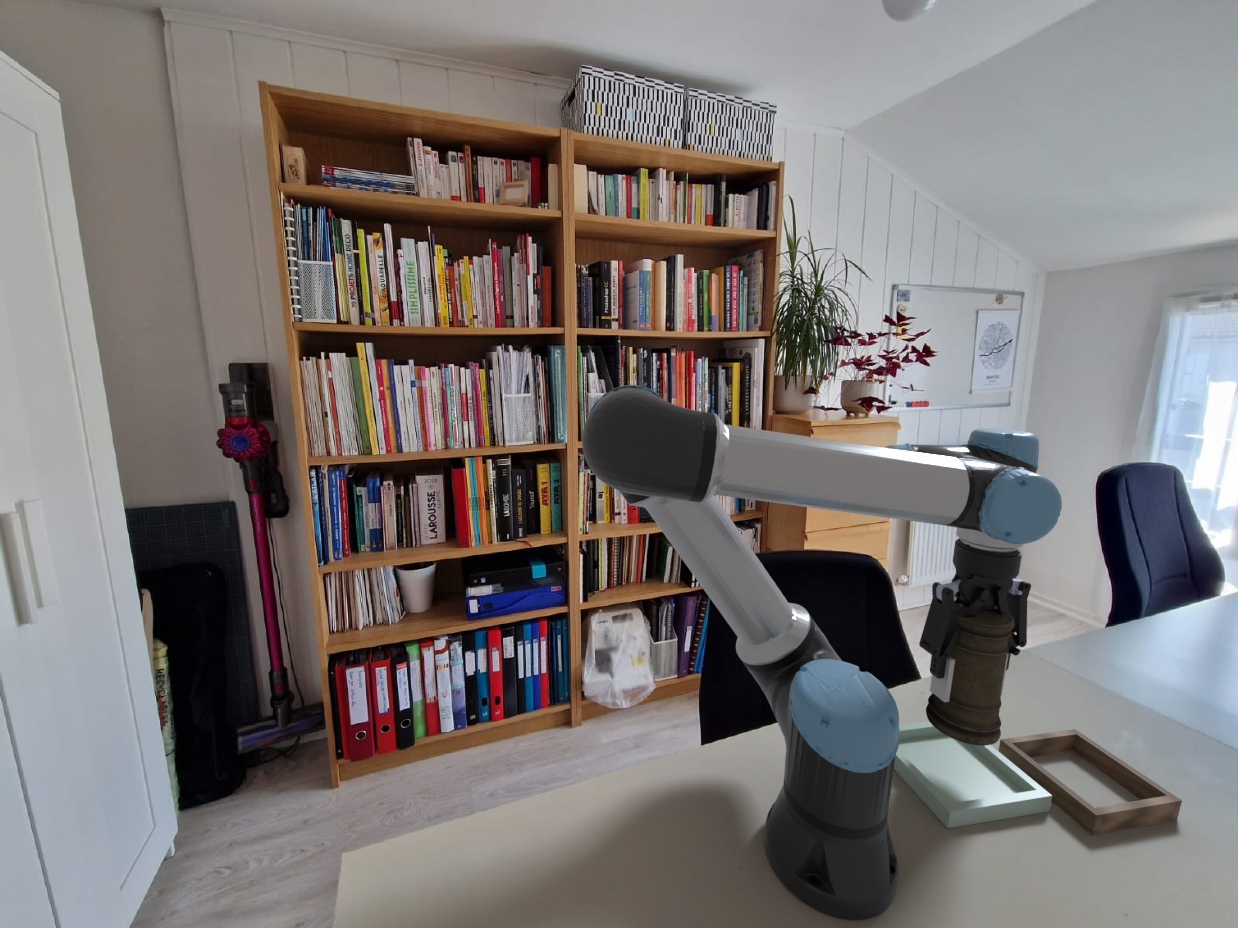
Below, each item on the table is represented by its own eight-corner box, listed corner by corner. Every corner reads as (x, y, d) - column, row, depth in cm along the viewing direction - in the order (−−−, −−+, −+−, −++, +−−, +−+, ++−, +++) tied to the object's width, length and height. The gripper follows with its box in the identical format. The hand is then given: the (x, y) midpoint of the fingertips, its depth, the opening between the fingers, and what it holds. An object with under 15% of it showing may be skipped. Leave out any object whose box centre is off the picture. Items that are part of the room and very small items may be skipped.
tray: (947, 828, 68) (950, 812, 68) (869, 742, 84) (871, 728, 83) (1049, 811, 71) (1052, 795, 71) (955, 731, 87) (957, 717, 86)
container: (1014, 747, 72) (1035, 627, 68) (948, 746, 72) (966, 626, 68) (972, 705, 80) (989, 597, 77) (913, 704, 81) (927, 596, 77)
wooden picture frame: (1091, 834, 68) (1096, 815, 67) (997, 756, 81) (1000, 739, 81) (1177, 819, 70) (1182, 800, 70) (1071, 745, 84) (1075, 729, 83)
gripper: (943, 557, 65) (921, 718, 70) (1080, 548, 69) (1051, 701, 73) (901, 537, 72) (883, 684, 77) (1027, 530, 76) (1003, 671, 80)
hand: (965, 692), depth 75 cm, fingers closed on container, 8 cm apart
